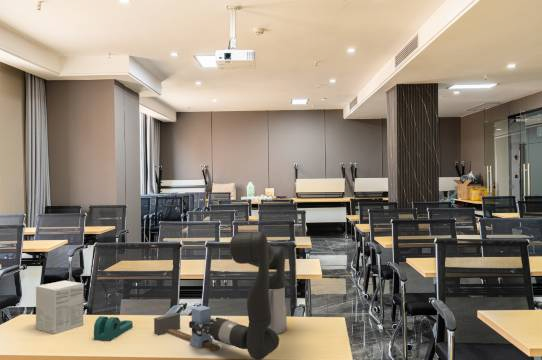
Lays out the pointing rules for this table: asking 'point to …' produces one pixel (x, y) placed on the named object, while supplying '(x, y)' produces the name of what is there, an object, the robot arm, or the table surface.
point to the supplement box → (59, 306)
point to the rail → (188, 337)
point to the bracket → (110, 328)
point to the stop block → (166, 323)
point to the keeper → (199, 316)
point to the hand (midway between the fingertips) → (197, 322)
